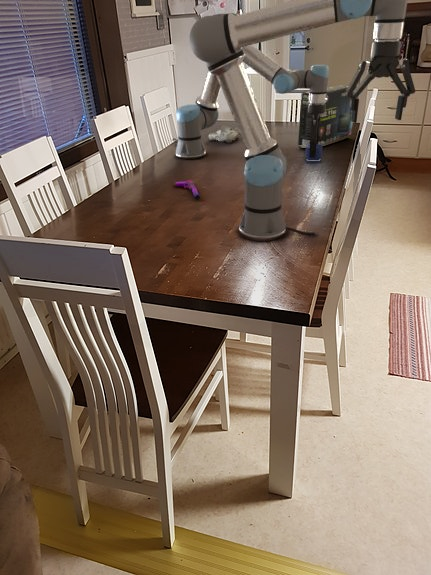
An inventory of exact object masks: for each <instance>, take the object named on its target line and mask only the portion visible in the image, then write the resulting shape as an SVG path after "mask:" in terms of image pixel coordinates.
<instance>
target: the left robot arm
mask: <svg viewBox="0 0 431 575" xmlns="http://www.w3.org/2000/svg"><path fill="white" fill-rule="evenodd" d="M231 13H232V14H233V15H234V16H237V15H239V13H234V12H231ZM217 14H218V15H224V14H225V13H217ZM242 50H243V53H244V55H245V56H244V58H243V61H242V63H243V64H245V66H247V67H249V68H250V69H252V70H253V71H254V72H256V73H257V74H258V75H259V76H261V77H262V78H263V79H265V80H266V81H268V82H269V84H271V85H273V88H274V90H275V92H277V93H278V94H281V95H284V94H289V93H290V92H292V91H295V90H298V89H299V90H301V89H303V90H304V89H305V90H309V91H310V92H309V103H310V104H309V107H308V112H309V113H310V114H313V117H312V118H311V122H312V123H311V137H310V142H309V143H310V154H309V158H315V155H316V144H318V139H317V138H320V136H319V128H320V121H321V117H320V116H321V115H320V114H323V113H325V109H326V105H325V104H324V103H326V98H328V96H326V95H327V88H328V84H329V77H330V76H329V66H328V65H327V64H313V65H312V66H310V69H293V68H292V69H285V68H283V66H282V65H280V64H279V63H277V62H276V61H274V60H273V59H272V58H270V57H269V56H268V55H266V54H265V52H263V51H261V50H259V49H258V48H257V47H256V46H254V44H252V45H249V46H245V47H242ZM204 78H205V79H204V82H203V85H202V89H201V91H200V92H201V93H200V95H199V96H197V97H196V98H195V102H194V104H186V105H181V106H179V107H178V108H177V109H176V111H175V112H176V113H175V119H176V128H177V139H176V138H172V139H171V140H172V141H173V142H174V141H175V146H176V149H175V157H176V158H177V159H182V160H196V159H201V158H204V157H205V156H206V155H207V149H206V148H205V145H204V143H203V142H204V141H203V140H202V131H204V130H205V129H208V128H210V127H212V126H213V125H215V124H216V123H217V121H218V119H219V104H218V99H219V96H220V93H221V91H222V88H221V86H220V84H219V81H218V79H217V76H215V75H214V74H211V73H210V72H209V70H208V69H207V71H206V75H205V77H204Z"/></svg>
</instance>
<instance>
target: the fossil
mask: <svg viewBox="0 0 431 575" xmlns="http://www.w3.org/2000/svg"><path fill="white" fill-rule="evenodd" d="M238 135H240V133H239V130H238V128H237V127H236V128H235V127H234V128H232V127H231V126H228V125H222V126H221V128H220V129H218V130H217V131H216V132H214V131H213V132H210V133H209V134H208V139H209V140H210V141H217V140H218V141H217V142H225V143H227V144H229V143H232V142H233V141H235V140H236V139H237V138H238V137H239V136H238ZM240 136H241V135H240ZM235 138H236V139H235ZM232 140H233V141H232Z"/></svg>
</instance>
